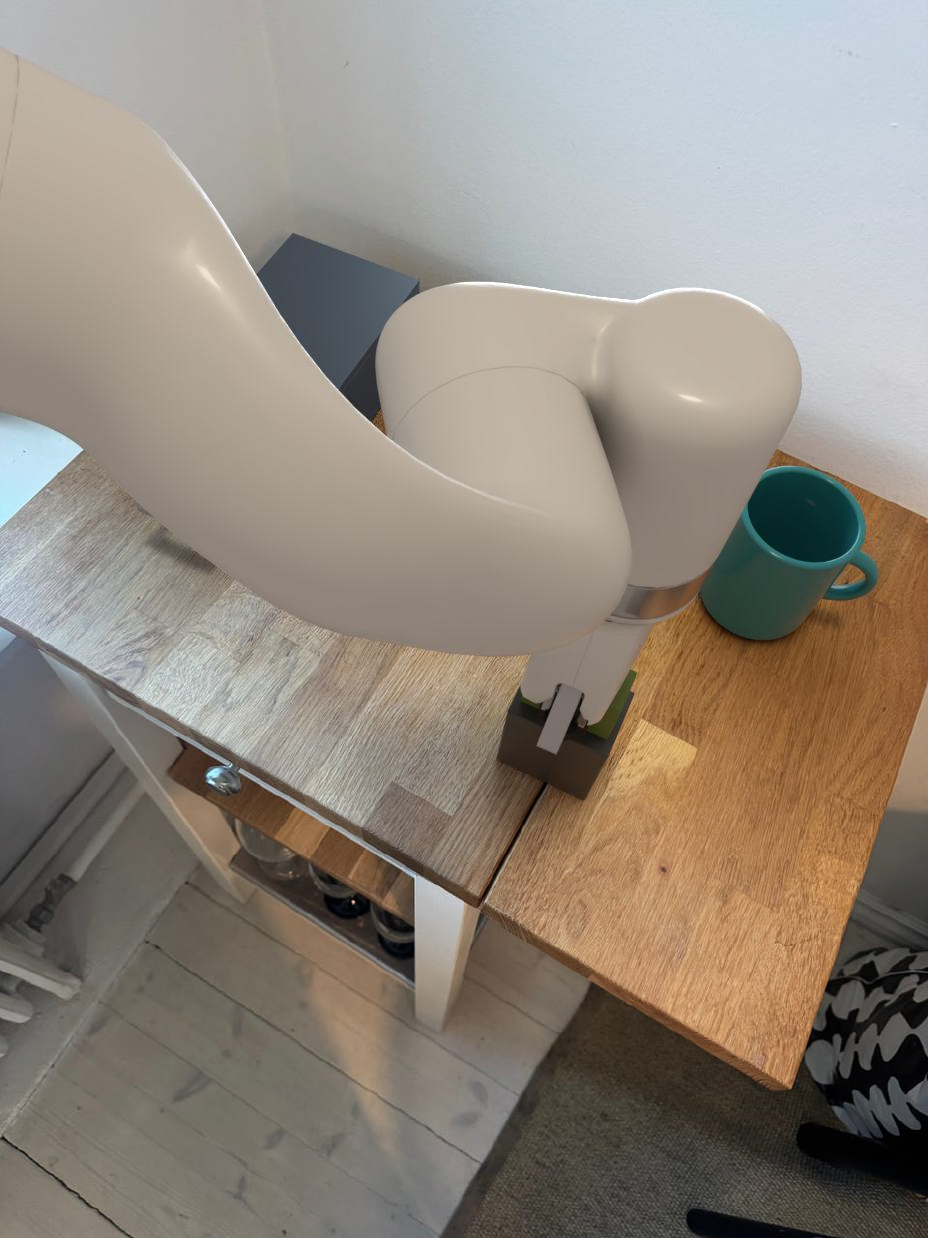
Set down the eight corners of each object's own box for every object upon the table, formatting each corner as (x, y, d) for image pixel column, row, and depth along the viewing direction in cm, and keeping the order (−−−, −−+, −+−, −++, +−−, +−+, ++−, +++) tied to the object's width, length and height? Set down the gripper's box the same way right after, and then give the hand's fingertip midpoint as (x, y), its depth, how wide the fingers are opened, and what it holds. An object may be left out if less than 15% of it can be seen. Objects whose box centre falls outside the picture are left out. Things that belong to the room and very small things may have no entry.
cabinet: (344, 460, 78) (336, 391, 71) (220, 409, 80) (200, 336, 73) (419, 353, 85) (419, 279, 77) (303, 308, 87) (292, 232, 79)
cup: (835, 669, 70) (903, 597, 61) (686, 623, 72) (730, 545, 62) (848, 578, 75) (914, 497, 65) (708, 536, 76) (751, 450, 66)
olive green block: (520, 701, 58) (528, 671, 54) (538, 664, 59) (547, 632, 55) (606, 740, 57) (621, 712, 53) (622, 701, 58) (638, 671, 54)
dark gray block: (495, 760, 65) (507, 711, 57) (522, 703, 68) (537, 649, 60) (584, 801, 64) (608, 757, 56) (608, 742, 66) (635, 692, 59)
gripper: (620, 393, 46) (566, 579, 62) (487, 650, 39) (465, 787, 55) (759, 446, 45) (668, 622, 61) (650, 722, 37) (578, 840, 53)
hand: (572, 698), depth 58 cm, fingers open, 3 cm apart
